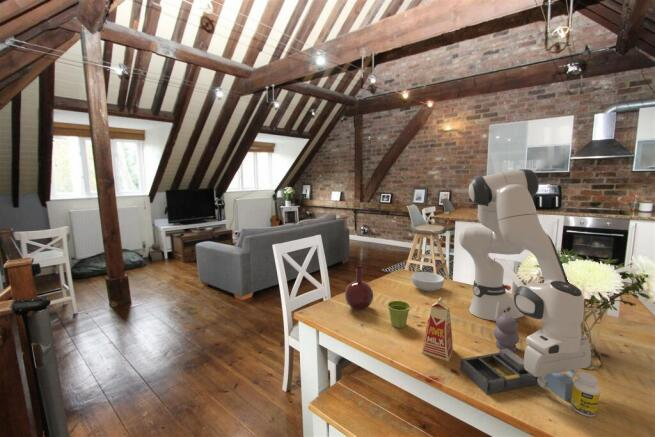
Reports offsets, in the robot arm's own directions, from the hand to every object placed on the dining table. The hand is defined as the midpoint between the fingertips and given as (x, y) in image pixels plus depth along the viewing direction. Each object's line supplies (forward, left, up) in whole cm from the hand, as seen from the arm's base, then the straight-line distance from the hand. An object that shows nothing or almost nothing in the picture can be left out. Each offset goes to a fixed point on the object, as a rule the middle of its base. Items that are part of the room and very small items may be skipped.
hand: (555, 383), depth 90 cm
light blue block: (0, 0, -2) cm, 2 cm away
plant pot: (+27, -47, -2) cm, 54 cm away
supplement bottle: (0, +8, -2) cm, 8 cm away
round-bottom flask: (+38, -66, -2) cm, 76 cm away
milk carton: (+22, -26, -2) cm, 34 cm away
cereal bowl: (-6, -80, -2) cm, 80 cm away
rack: (+12, -9, -2) cm, 15 cm away
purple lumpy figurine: (-3, -22, -2) cm, 22 cm away
